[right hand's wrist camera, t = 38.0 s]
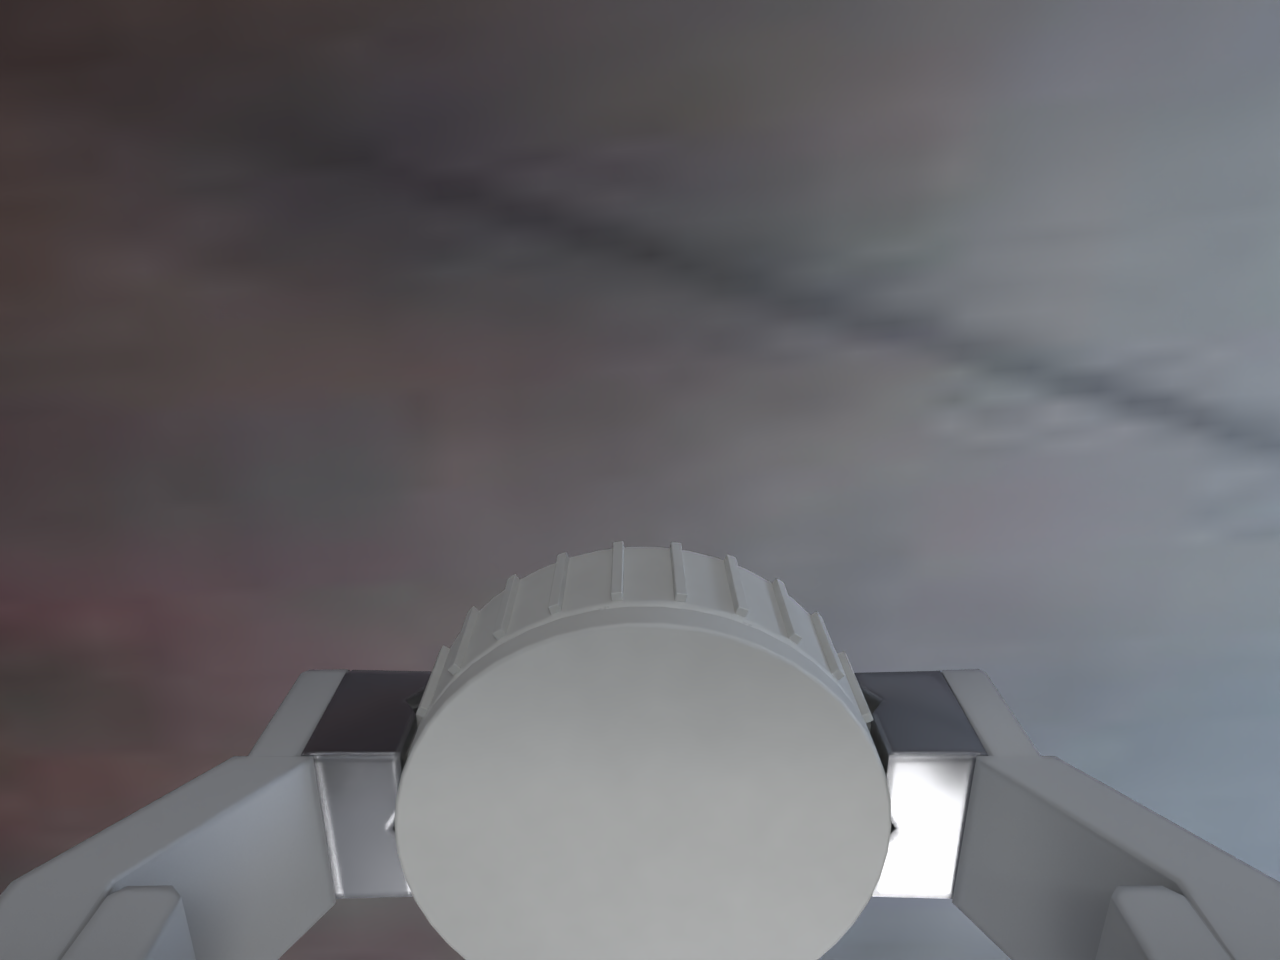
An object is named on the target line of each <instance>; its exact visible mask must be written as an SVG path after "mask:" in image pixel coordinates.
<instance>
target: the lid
mask: <svg viewBox="0 0 1280 960" xmlns="http://www.w3.org/2000/svg"><path fill="white" fill-rule="evenodd" d="M416 718H417V727H418V729H417V732H416V734H415V737H414V740H413V742H412V745H411V747H410V750H409V752H408V757H407V760H406V763H405V765H404V768H403V771H402V773H401V778H400V783H399V787H398V792H397V796H396V805H395V825H394V826H395V835H396V843H397V852H398V856H399V859H400V863H401V866H402V870H403V873H404V877H405V879H406V882H407V884H408V886H409V888H410V890H411V892H412V895H413V897H414V899H415V901H416V903H417V904H418V906H419V907H420V909H421V910H422V912H423V914H424V915H425V917H426V918H427V920H428V921H429V923H430V924H431V925H432V926H433V928H434V929H435V930H436V931H437V932H438V933H439V934H440V936H441V937H442V938H443V939H444V940H445V941H446V942H447V944H448V945H450V946H451V947H452V948H453V949H454V950H455V951H456V952H457V953H459V954H460V955H461V956H462V957H463V958H464V959H465V960H818V959H819V958H820V957H821V956H823V955H824V954H825V953H826V952H827V951H828V950H829V949H831V948H832V947H833V946H834V945H835V944H836V943H837V942H838V941H839V940H840V939H841V938H842V936H843V935H844V934H845V933H846V932H847V931H848V930H849V929H850V927H851V926H852V925H853V924H854V923H855V921H856V920H857V918H858V917H859V915H860V914H861V912H862V911H863V909H864V908H865V906H866V905H867V903H868V902H869V900H870V898H871V896H872V894H873V892H874V890H875V888H876V885H877V883H878V881H879V879H880V877H881V873H882V870H883V867H884V863H885V860H886V857H887V854H888V848H889V840H890V833H891V798H890V793H889V788H888V783H887V778H886V773H885V771H884V768H883V765H882V763H881V760H880V758H879V755H878V752H877V750H876V747H875V745H874V742H873V740H872V737H871V735H870V729H871V721H873V717H872V715H871V712H870V710H869V707H868V705H867V703H866V700H865V698H864V695H863V693H862V690H861V688H860V686H859V683H858V681H857V678H856V676H855V674H854V671H853V669H852V666H851V664H850V662H849V659H848V657H847V655H846V653H845V651H843V652H841V653H838V654H837V652H836V650H835V649H834V646H833V644H832V641H831V639H830V636H829V634H828V631H827V629H826V626H825V624H824V621H823V619H822V617H821V616H820V614H819V613H818V612H817V611H816V612H814V613H813V614H812V615H810V614H809V613H808V612H807V611H806V610H804V609H803V608H802V607H801V606H800V605H799V604H798V603H797V602H796V601H795V600H794V599H793V598H792V597H790V596H789V595H788V593H787V590H786V587H785V584H784V583H783V582H782V581H780V580H779V579H777V578H776V579H775V580H774V581H773V583H771V582H769V581H767V580H765V579H764V578H762V577H760V576H758V575H756V574H754V573H752V572H751V571H749V570H747V569H745V568H742V567H740V566H738V564H737V560H736V557H733V556H730V555H728V554H727V555H726V557H725V559H724V560H721V559H719V558H716V557H712V556H708V555H704V554H700V553H696V552H692V551H687V550H682V546H681V543H677V542H671V545H670V548H663V547H624V542H623V541H619V542H613V549H605V550H598V551H594V552H590V553H586V554H582V555H578V556H574V557H570V558H569V556H568V553H567V552H564V553H561V554H558V555H557V560H556V563H554V564H551V565H548V566H546V567H543V568H541V569H539V570H537V571H535V572H533V573H531V574H529V575H528V576H526V577H524V578H522V579H519V578H518V576H517V575H516V574H515V575H513V576H511V577H510V578H508V580H507V583H506V587H505V590H503V591H502V592H501V593H499V594H498V595H496V596H495V597H493V598H492V599H491V600H490V601H489V602H488V603H487V604H486V605H485V606H484V607H483V608H482V609H481V610H478V609H477V608H475V607H474V606H473V607H472V608H471V609H470V610H469V611H468V612H467V615H466V618H465V621H464V624H463V627H462V630H461V632H460V633H459V635H458V636H457V637H456V639H455V641H454V643H453V644H452V646H451V648H448V647H446V646H442V648H441V650H440V651H439V654H438V657H437V659H436V662H435V664H434V667H433V670H432V672H431V675H430V678H429V680H428V683H427V686H426V688H425V691H424V694H423V696H422V699H421V702H420V704H419V707H418V709H417V712H416Z"/></svg>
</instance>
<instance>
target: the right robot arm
mask: <svg viewBox="0 0 1280 960" xmlns="http://www.w3.org/2000/svg"><path fill="white" fill-rule="evenodd" d="M854 674H855V676H856V678H857V681H858V683H859V686H860V688H861V690H862V693H863V695H864V698H865V700H866V703H867V705H868V707H869V710H870V712H871V715H872V717H873V721H871V729H870V735H871V737H872V740H873V742H874V745H875V747H876V750H877V752H878V755H879V758H880V760H881V763H882V765H883V768H884V771H885V773H886V778H887V783H888V788H889V793H890V798H891V833H890V840H889V848H888V854H887V857H886V860H885V863H884V867H883V870H882V873H881V877H880V879H879V881H878V883H877V885H876V888H875V890H874V892H873V894H872V896H875V897H911V898H947V899H953V900H952V903H953V904H954V905H955V906H956V907H958V908H959V909H960V910H961V911H962V912H963V913H964V914H965V915H966V916H967V917H968V918H969V919H970V920H971V921H972V922H973V923H974V924H975V925H976V926H977V927H978V928H979V929H980V930H981V931H982V932H983V933H984V934H986V935H987V936H988V937H989V938H990V939H991V940H992V941H993V942H994V943H995V944H996V945H997V946H998V947H999V948H1000V949H1001V950H1002V951H1003V952H1004V953H1005V954H1006V955H1007V956H1008V957H1009V958H1010V959H1011V960H1280V882H1278V881H1277V880H1275V879H1273V878H1271V877H1269V876H1268V875H1266V874H1264V873H1262V872H1260V871H1259V870H1257V869H1255V868H1253V867H1252V866H1250V865H1248V864H1246V863H1244V862H1243V861H1241V860H1239V859H1237V858H1236V857H1234V856H1232V855H1230V854H1228V853H1227V852H1225V851H1223V850H1221V849H1219V848H1218V847H1216V846H1214V845H1212V844H1211V843H1209V842H1207V841H1205V840H1203V839H1202V838H1200V837H1198V836H1196V835H1195V834H1193V833H1191V832H1189V831H1187V830H1186V829H1184V828H1182V827H1180V826H1178V825H1177V824H1175V823H1173V822H1171V821H1170V820H1168V819H1166V818H1164V817H1162V816H1161V815H1159V814H1157V813H1155V812H1153V811H1152V810H1150V809H1148V808H1146V807H1145V806H1143V805H1141V804H1139V803H1137V802H1136V801H1134V800H1132V799H1130V798H1129V797H1127V796H1125V795H1123V794H1121V793H1120V792H1118V791H1116V790H1114V789H1112V788H1111V787H1109V786H1107V785H1105V784H1104V783H1102V782H1100V781H1098V780H1096V779H1095V778H1093V777H1091V776H1089V775H1087V774H1086V773H1084V772H1082V771H1080V770H1079V769H1077V768H1075V767H1073V766H1071V765H1070V764H1068V763H1066V762H1064V761H1063V760H1061V759H1059V758H1057V757H1055V756H1041V755H1040V753H1039V752H1038V750H1037V749H1036V747H1035V746H1034V744H1033V743H1032V741H1031V740H1030V738H1029V737H1028V735H1027V734H1026V732H1025V731H1024V729H1023V728H1022V726H1021V725H1020V723H1019V722H1018V720H1017V719H1016V717H1015V716H1014V714H1013V713H1012V711H1011V710H1010V708H1009V707H1008V705H1007V704H1006V702H1005V701H1004V699H1003V698H1002V696H1001V695H1000V693H999V692H998V690H997V689H996V687H995V686H994V684H993V683H992V681H991V680H990V678H989V677H988V675H987V674H986V673H985V672H983V671H981V670H979V669H966V670H939V671H915V672H872V673H854ZM430 675H431V671H381V670H352V671H349V670H347V669H344V670H308V671H305V672H303V673H301V674H300V676H299V677H298V679H297V680H296V682H295V683H294V685H293V686H292V688H291V689H290V691H289V692H288V694H287V696H286V697H285V699H284V700H283V702H282V703H281V705H280V706H279V708H278V710H277V711H276V713H275V714H274V716H273V717H272V719H271V720H270V722H269V724H268V725H267V727H266V728H265V730H264V731H263V733H262V734H261V736H260V738H259V739H258V741H257V742H256V744H255V745H254V747H253V748H252V750H251V752H250V753H249V755H248V756H234V757H232V758H230V759H228V760H227V761H225V762H223V763H221V764H219V765H218V766H216V767H214V768H212V769H211V770H209V771H207V772H205V773H203V774H202V775H200V776H198V777H196V778H195V779H193V780H191V781H189V782H188V783H186V784H184V785H182V786H180V787H179V788H177V789H175V790H173V791H172V792H170V793H168V794H166V795H164V796H163V797H161V798H159V799H157V800H156V801H154V802H152V803H150V804H149V805H147V806H145V807H143V808H141V809H140V810H138V811H136V812H134V813H133V814H131V815H129V816H127V817H125V818H124V819H122V820H120V821H118V822H117V823H115V824H113V825H111V826H110V827H108V828H106V829H104V830H102V831H101V832H99V833H97V834H95V835H94V836H92V837H90V838H88V839H86V840H85V841H83V842H81V843H79V844H78V845H76V846H74V847H72V848H71V849H69V850H67V851H65V852H63V853H62V854H60V855H58V856H56V857H55V858H53V859H51V860H49V861H47V862H46V863H44V864H42V865H40V866H39V867H37V868H35V869H33V870H32V871H30V872H28V873H26V874H24V875H23V876H21V877H19V878H17V879H16V880H14V881H12V882H11V883H10V884H9V885H8V887H7V888H6V889H5V890H4V891H3V892H2V894H1V895H0V960H278V959H279V958H280V957H281V956H282V955H283V954H284V953H285V952H286V951H287V950H288V949H289V948H290V947H291V946H292V945H293V944H294V943H295V942H296V941H297V940H298V939H299V938H301V937H302V936H303V935H304V934H305V933H306V932H307V931H308V930H309V929H310V928H311V927H312V926H313V925H314V924H315V923H316V922H317V921H318V920H319V919H320V918H321V917H322V916H323V915H324V914H325V913H326V912H327V911H328V910H329V909H330V908H331V907H332V906H333V905H334V904H336V900H335V899H341V898H376V897H411V896H413V895H412V892H411V890H410V888H409V886H408V884H407V882H406V879H405V877H404V873H403V870H402V866H401V863H400V859H399V856H398V852H397V843H396V835H395V826H394V825H395V805H396V796H397V792H398V787H399V783H400V778H401V773H402V771H403V768H404V765H405V763H406V760H407V757H408V752H409V750H410V747H411V745H412V742H413V740H414V737H415V734H416V732H417V729H418V727H417V718H416V712H417V709H418V707H419V704H420V702H421V699H422V696H423V694H424V691H425V688H426V686H427V683H428V680H429V678H430Z"/></svg>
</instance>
